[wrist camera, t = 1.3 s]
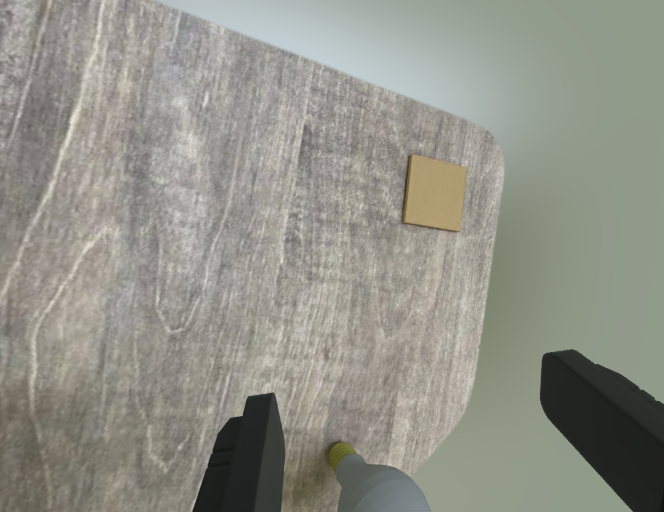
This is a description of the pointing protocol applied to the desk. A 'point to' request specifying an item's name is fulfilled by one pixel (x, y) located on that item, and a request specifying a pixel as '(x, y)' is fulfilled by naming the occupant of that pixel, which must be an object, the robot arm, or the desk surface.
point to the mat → (434, 193)
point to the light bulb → (373, 485)
